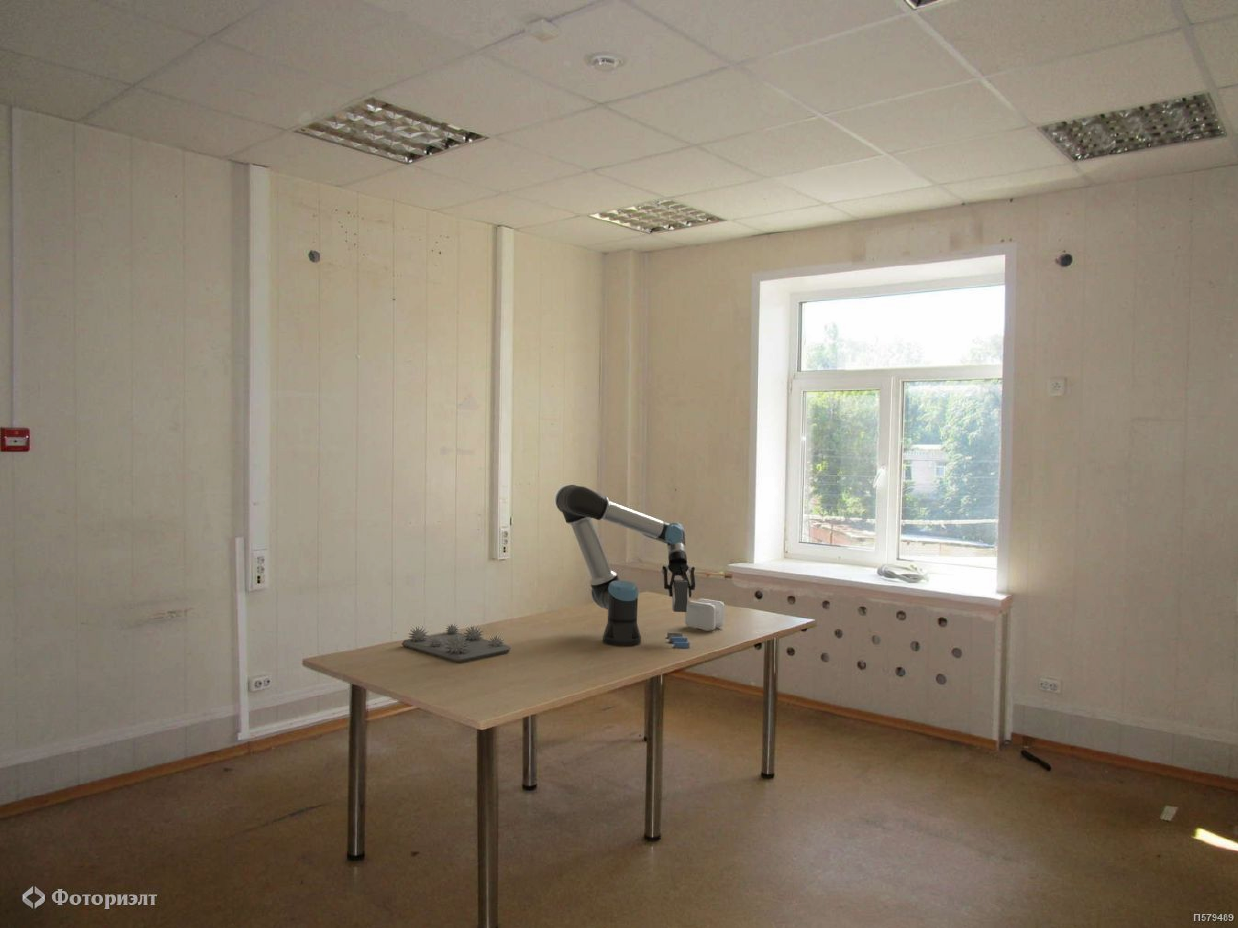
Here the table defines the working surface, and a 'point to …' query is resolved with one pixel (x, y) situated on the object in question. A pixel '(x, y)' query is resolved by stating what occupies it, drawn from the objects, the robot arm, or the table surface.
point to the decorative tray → (456, 644)
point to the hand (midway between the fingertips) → (681, 602)
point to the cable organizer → (705, 614)
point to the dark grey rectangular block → (680, 595)
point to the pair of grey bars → (674, 635)
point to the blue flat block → (680, 642)
